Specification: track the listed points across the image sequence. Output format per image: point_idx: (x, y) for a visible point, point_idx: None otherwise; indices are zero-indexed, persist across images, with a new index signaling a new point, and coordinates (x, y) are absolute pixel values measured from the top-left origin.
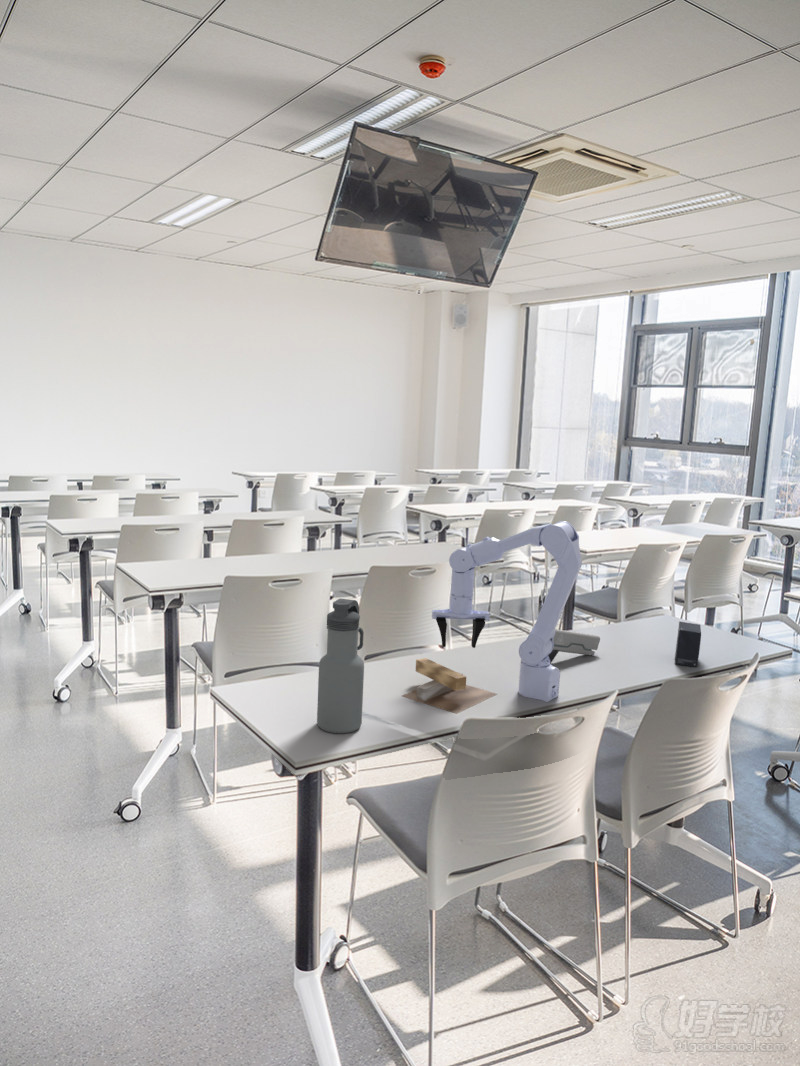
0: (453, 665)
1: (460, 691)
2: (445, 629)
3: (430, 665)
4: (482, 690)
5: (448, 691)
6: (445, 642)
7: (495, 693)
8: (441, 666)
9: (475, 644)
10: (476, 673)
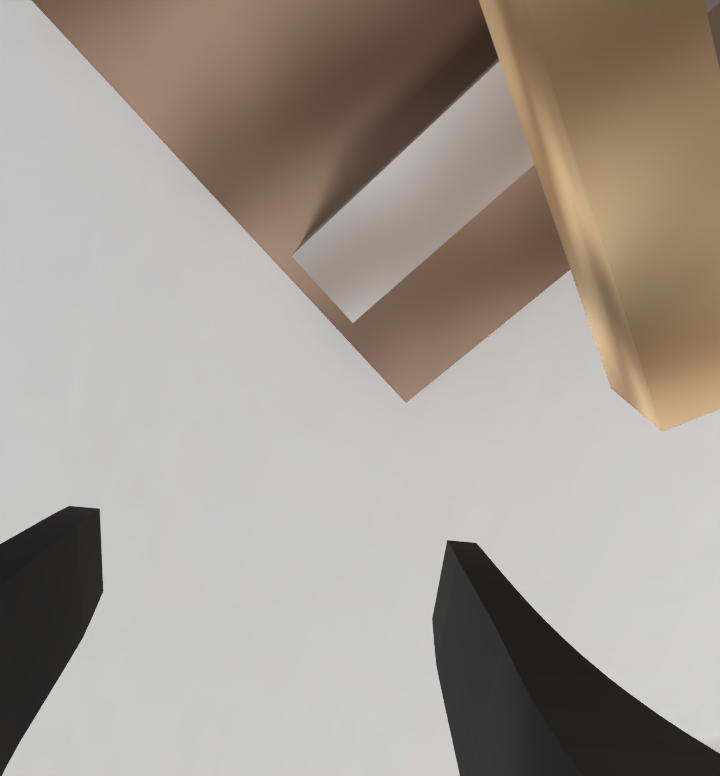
0: (257, 680)
1: (351, 77)
2: (556, 707)
3: (718, 160)
4: (148, 94)
5: (457, 84)
6: (467, 568)
7: (39, 5)
8: (595, 116)
9: (42, 521)
10: (129, 545)
